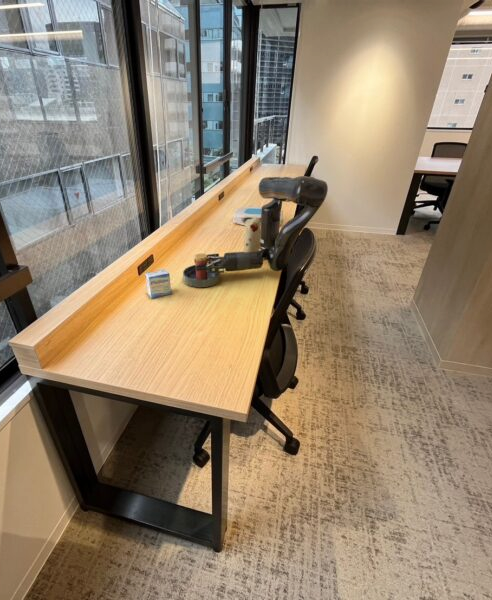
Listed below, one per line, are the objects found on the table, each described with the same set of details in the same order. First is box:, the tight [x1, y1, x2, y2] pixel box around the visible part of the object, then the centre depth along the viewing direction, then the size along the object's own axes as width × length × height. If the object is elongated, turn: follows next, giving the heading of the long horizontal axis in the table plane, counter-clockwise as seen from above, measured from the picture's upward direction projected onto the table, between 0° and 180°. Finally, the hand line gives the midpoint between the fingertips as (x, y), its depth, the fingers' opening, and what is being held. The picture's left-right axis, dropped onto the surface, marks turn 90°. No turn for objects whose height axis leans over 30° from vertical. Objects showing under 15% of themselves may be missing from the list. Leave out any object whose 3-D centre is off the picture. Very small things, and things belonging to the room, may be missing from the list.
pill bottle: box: [194, 253, 208, 280], centre depth 130 cm, size 5×5×10 cm
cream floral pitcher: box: [243, 217, 261, 252], centre depth 144 cm, size 10×7×20 cm
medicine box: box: [144, 269, 172, 299], centre depth 121 cm, size 8×4×9 cm, turn 118°
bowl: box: [182, 264, 221, 288], centre depth 132 cm, size 15×15×4 cm
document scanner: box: [232, 206, 284, 226], centre depth 200 cm, size 21×28×6 cm
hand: (195, 264), depth 129 cm, fingers open, 6 cm apart
